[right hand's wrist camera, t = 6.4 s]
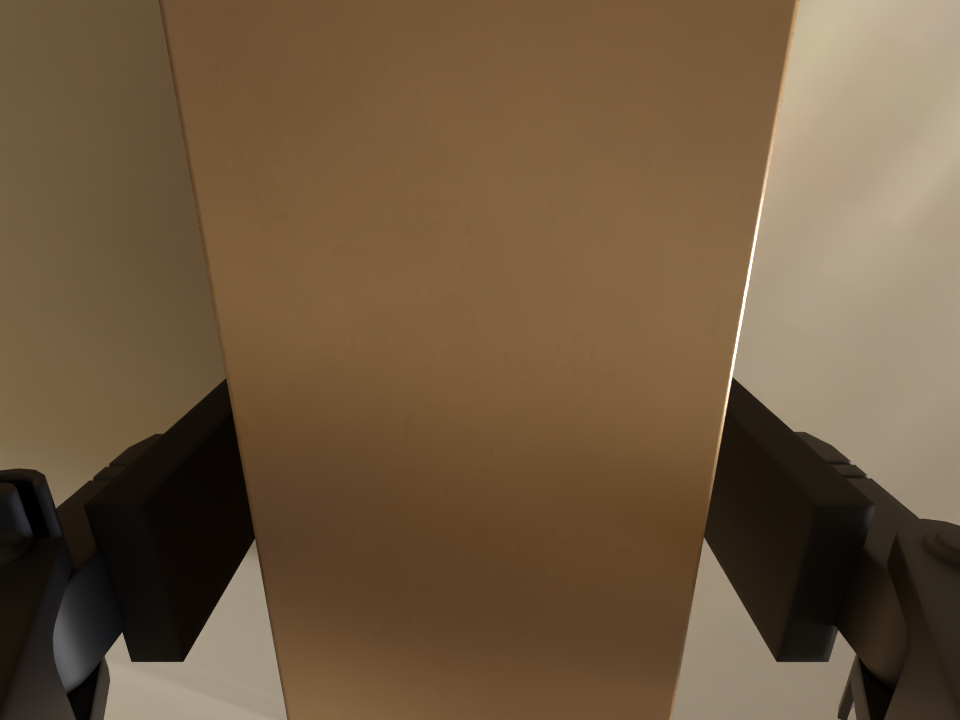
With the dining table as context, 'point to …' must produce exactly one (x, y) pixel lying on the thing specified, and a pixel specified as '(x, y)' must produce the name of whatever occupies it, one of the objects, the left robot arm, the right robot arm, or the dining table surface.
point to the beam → (479, 329)
